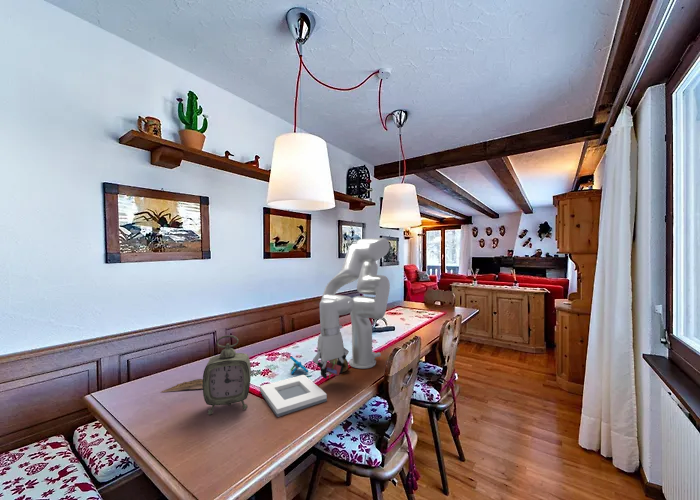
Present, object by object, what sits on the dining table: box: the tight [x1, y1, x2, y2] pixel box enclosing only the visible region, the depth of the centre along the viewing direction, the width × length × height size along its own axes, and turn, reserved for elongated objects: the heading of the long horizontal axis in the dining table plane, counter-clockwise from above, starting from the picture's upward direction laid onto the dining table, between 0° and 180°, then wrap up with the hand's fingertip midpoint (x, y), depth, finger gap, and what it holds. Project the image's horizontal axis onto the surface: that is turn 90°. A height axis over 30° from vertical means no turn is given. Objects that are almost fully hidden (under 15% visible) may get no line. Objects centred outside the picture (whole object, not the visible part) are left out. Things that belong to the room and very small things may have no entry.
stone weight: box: [328, 357, 349, 372], centre depth 135 cm, size 15×7×7 cm, turn 24°
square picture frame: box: [259, 374, 328, 418], centre depth 108 cm, size 18×20×2 cm
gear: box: [289, 356, 309, 375], centre depth 129 cm, size 11×6×10 cm
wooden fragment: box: [161, 378, 203, 393], centre depth 119 cm, size 26×11×1 cm, turn 110°
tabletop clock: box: [202, 334, 252, 416], centre depth 101 cm, size 14×9×25 cm, turn 105°
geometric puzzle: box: [325, 360, 342, 379], centre depth 118 cm, size 7×7×8 cm
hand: (332, 374), depth 118 cm, fingers closed on geometric puzzle, 6 cm apart
